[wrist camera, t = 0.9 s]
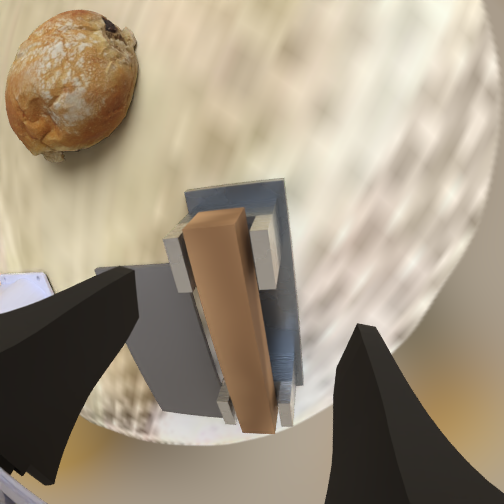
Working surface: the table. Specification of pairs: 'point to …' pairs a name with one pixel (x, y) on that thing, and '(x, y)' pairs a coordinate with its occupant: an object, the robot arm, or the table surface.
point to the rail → (234, 313)
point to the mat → (172, 344)
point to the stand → (267, 274)
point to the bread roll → (71, 83)
